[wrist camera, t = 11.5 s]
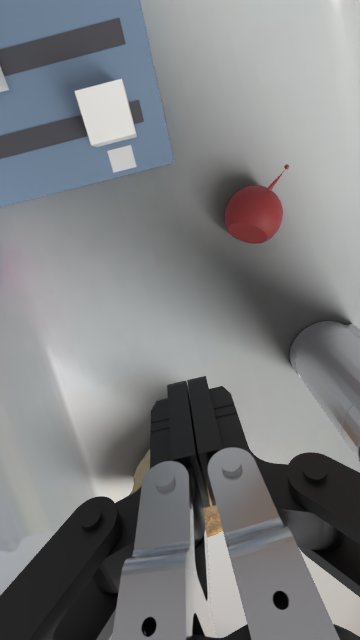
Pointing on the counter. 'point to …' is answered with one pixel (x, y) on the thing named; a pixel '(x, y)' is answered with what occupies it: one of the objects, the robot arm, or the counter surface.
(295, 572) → the robot arm
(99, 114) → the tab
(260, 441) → the counter surface
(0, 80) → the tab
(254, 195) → the red bulb syringe
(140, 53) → the switch panel
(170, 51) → the counter surface
